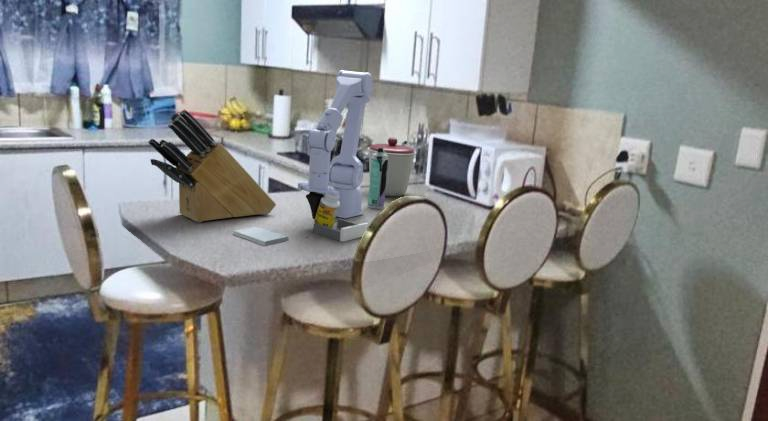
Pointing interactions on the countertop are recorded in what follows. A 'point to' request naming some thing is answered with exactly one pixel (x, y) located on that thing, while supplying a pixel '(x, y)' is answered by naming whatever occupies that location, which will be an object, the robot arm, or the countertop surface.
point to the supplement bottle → (327, 211)
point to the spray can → (378, 179)
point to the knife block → (208, 175)
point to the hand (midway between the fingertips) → (316, 218)
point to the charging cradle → (342, 230)
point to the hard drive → (260, 235)
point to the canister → (395, 166)
